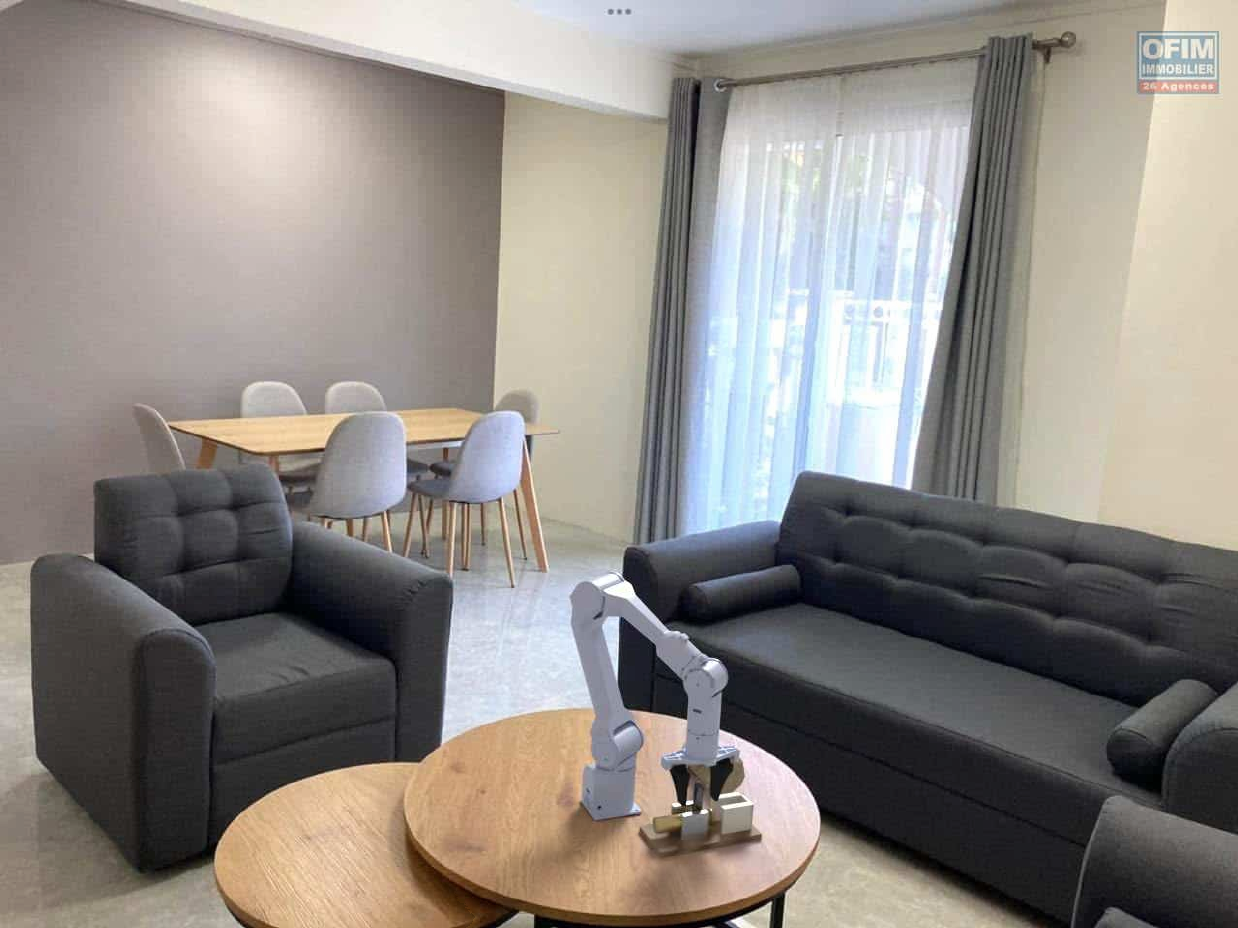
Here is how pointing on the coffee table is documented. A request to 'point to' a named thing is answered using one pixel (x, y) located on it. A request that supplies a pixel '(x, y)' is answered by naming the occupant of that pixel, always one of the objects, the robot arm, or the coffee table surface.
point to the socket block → (733, 812)
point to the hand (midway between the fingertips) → (697, 801)
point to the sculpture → (731, 782)
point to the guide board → (694, 834)
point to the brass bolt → (674, 821)
